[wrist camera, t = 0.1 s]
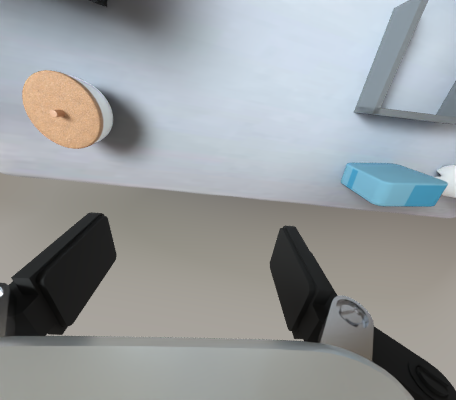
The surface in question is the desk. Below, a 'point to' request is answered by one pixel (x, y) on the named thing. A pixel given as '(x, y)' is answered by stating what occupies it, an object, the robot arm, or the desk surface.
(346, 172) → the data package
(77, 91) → the lidded jar
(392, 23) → the box
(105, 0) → the uninterruptible power supply
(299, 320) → the robot arm
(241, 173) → the desk surface
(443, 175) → the water bottle
